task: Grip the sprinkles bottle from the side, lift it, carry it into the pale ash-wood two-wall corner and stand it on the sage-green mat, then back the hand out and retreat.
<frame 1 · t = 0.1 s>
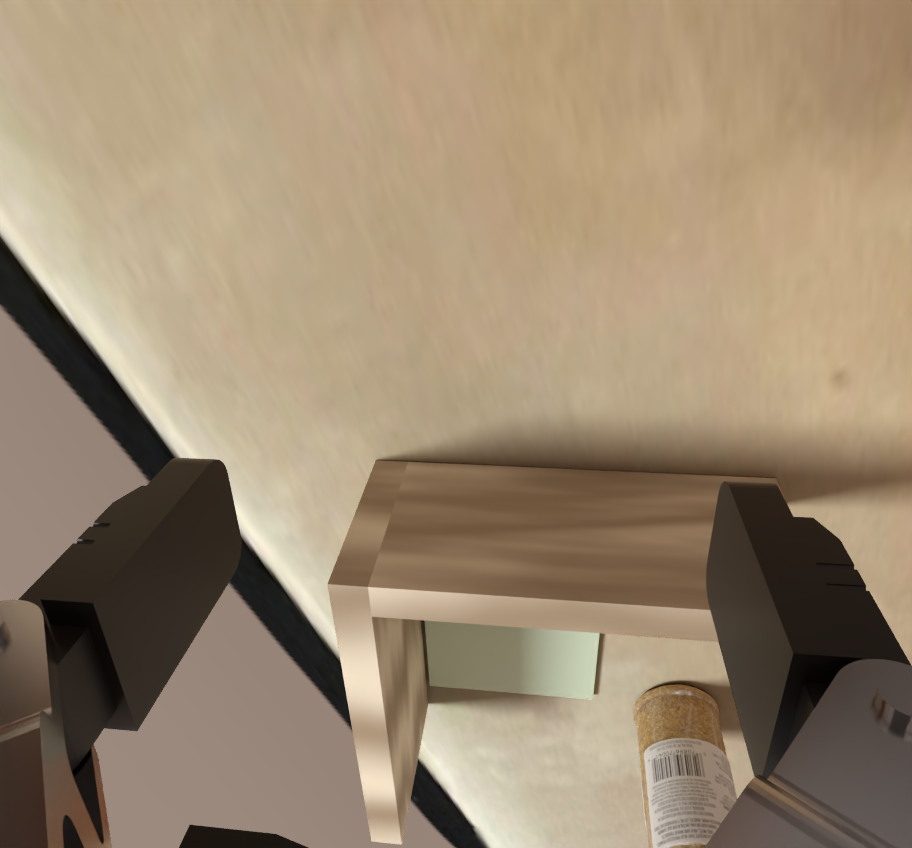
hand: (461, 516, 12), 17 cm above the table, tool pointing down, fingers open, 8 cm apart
light wood l-shaped panel: (393, 474, 33), on the table
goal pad: (510, 631, 38), on the table
sprinkles bottle: (675, 704, 39), on the table
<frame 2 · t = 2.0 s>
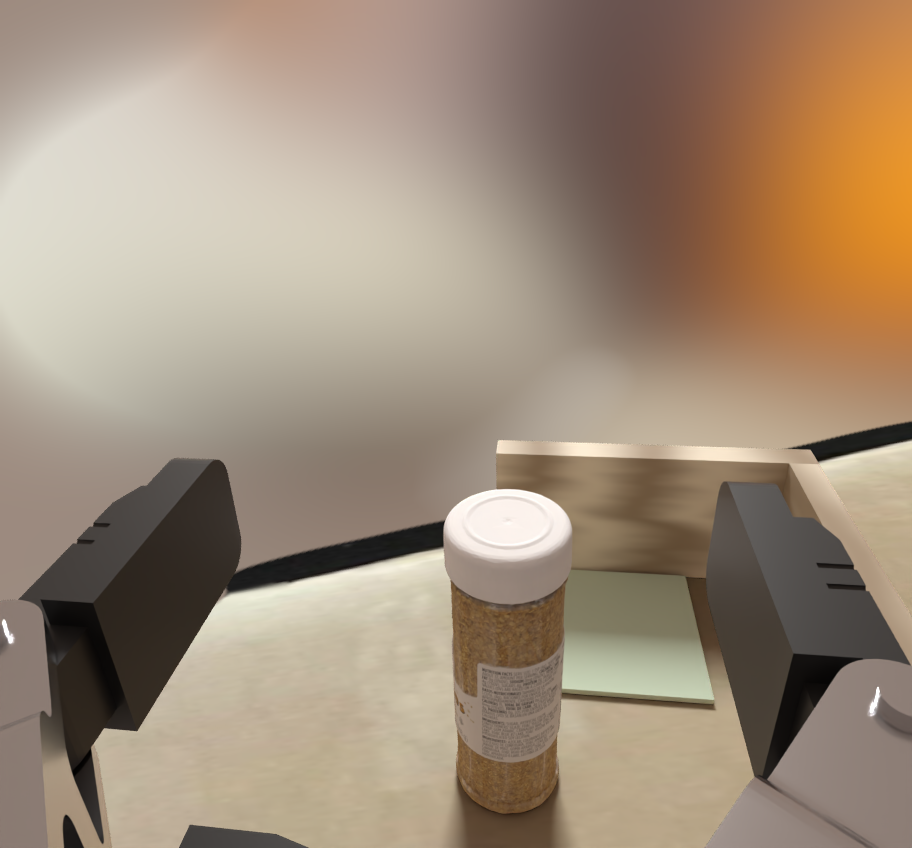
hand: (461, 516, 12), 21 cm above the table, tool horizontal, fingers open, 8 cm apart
light wood l-shaped panel: (774, 573, 42), on the table
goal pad: (611, 630, 39), on the table
sprinkles bottle: (507, 773, 32), on the table
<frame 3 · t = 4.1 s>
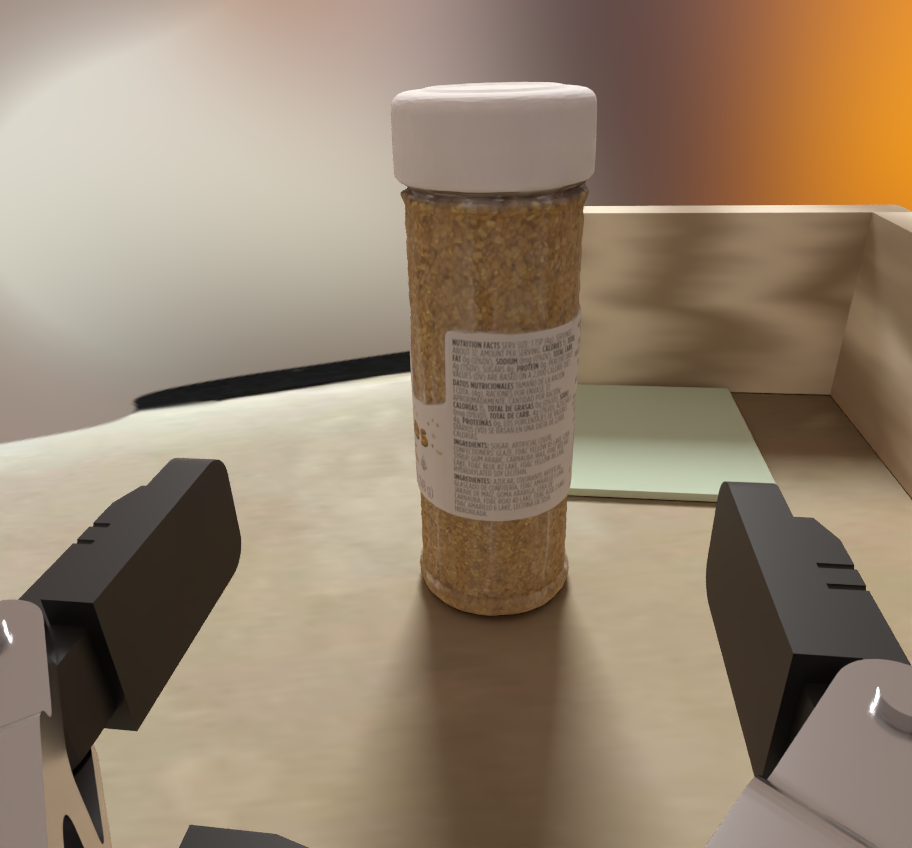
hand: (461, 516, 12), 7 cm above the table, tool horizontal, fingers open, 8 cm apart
light wood l-shaped panel: (841, 388, 33), on the table
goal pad: (634, 437, 29), on the table
sprinkles bottle: (494, 578, 22), on the table
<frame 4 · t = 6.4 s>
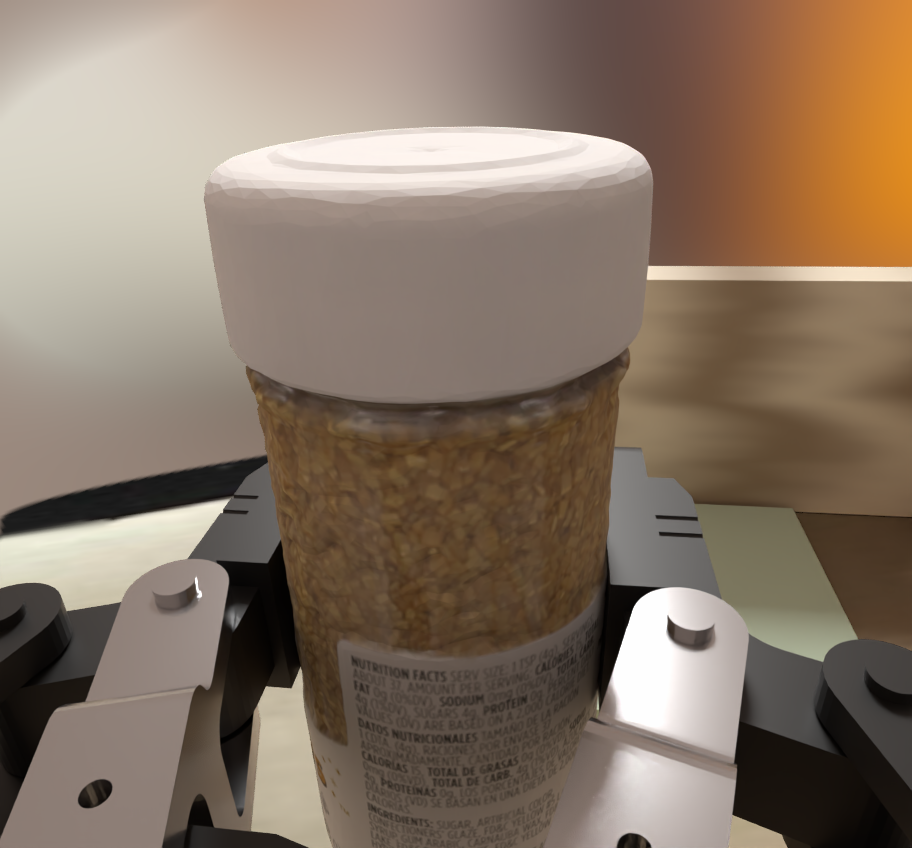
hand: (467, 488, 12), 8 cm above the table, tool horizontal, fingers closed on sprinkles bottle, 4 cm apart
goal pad: (671, 597, 21), on the table
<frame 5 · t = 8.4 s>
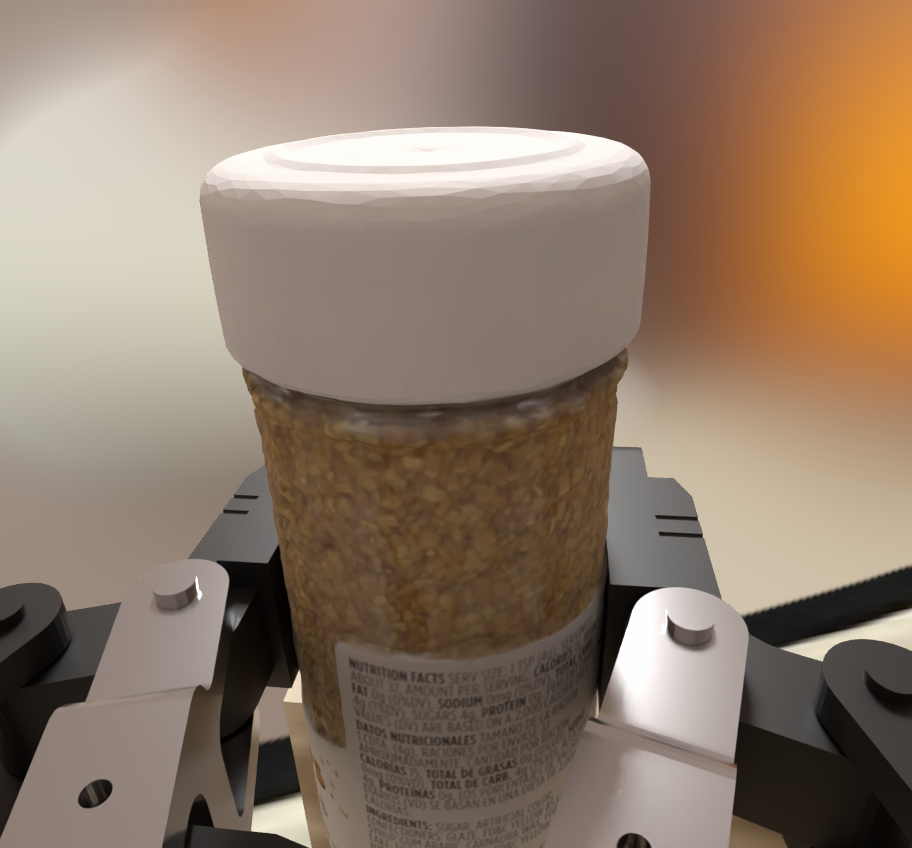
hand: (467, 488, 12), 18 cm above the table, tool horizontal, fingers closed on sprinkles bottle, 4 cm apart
when the fingers open (9 cm above the table, at t = 10.6 s): sprinkles bottle stays where it is, resting on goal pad.
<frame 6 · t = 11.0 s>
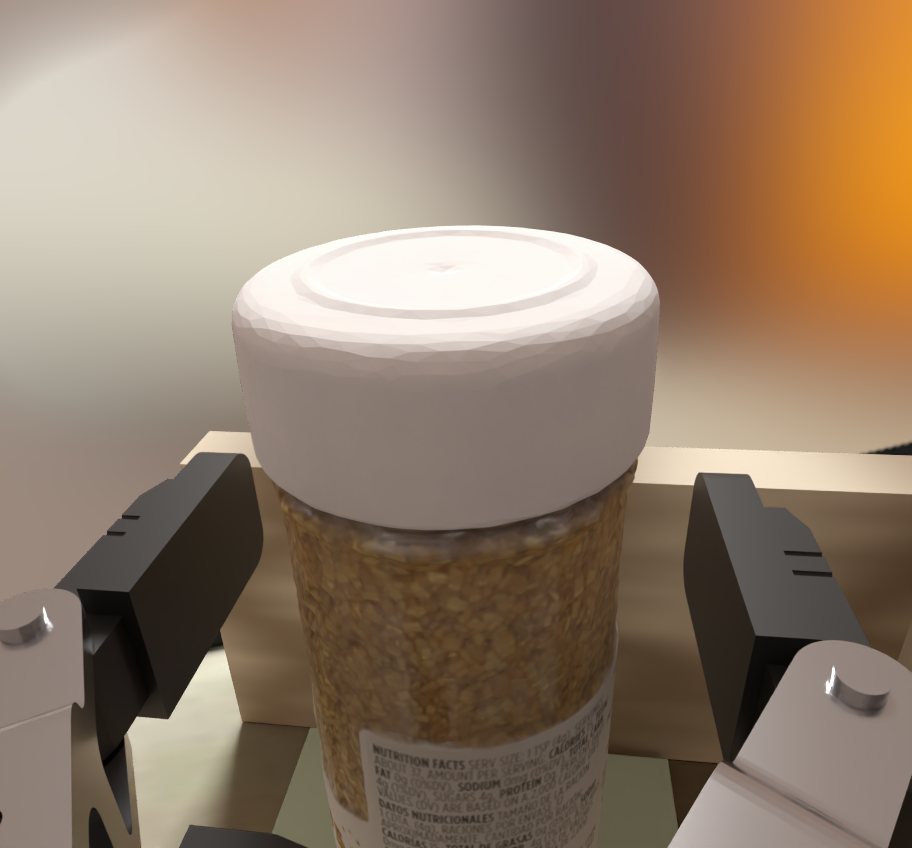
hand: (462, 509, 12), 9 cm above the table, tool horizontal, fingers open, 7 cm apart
light wood l-shaped panel: (878, 751, 18), on the table
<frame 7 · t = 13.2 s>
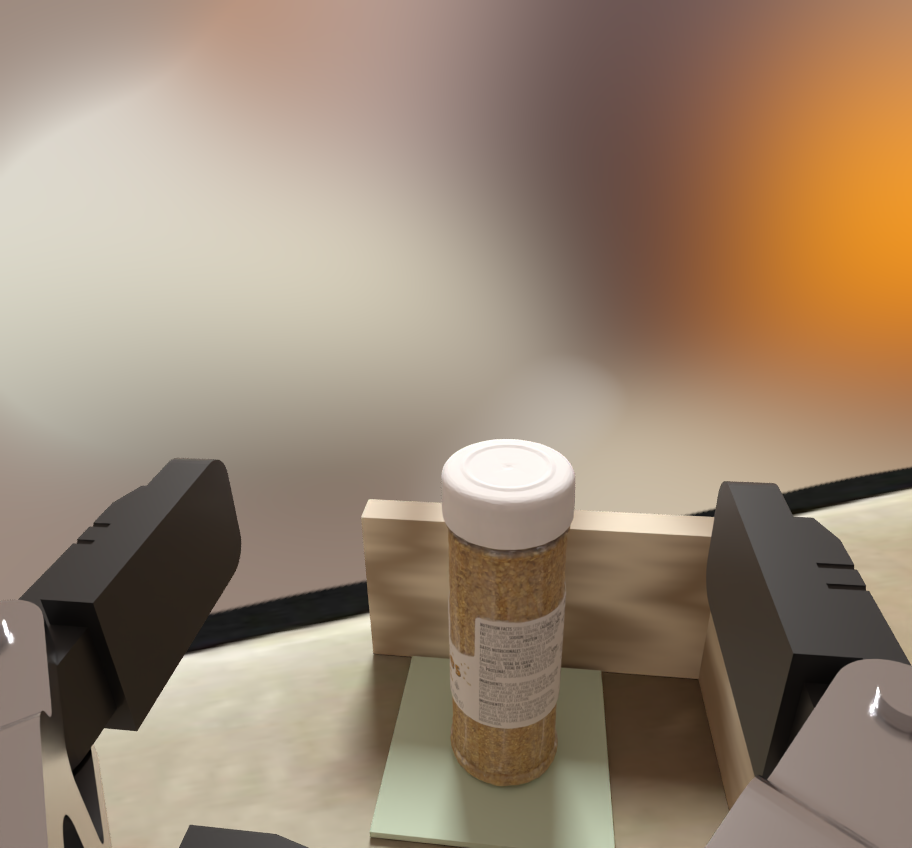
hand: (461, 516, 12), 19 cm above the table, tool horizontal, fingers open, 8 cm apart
light wood l-shaped panel: (711, 668, 34), on the table
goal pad: (498, 746, 30), on the table
sprinkles bottle: (504, 747, 30), resting on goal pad
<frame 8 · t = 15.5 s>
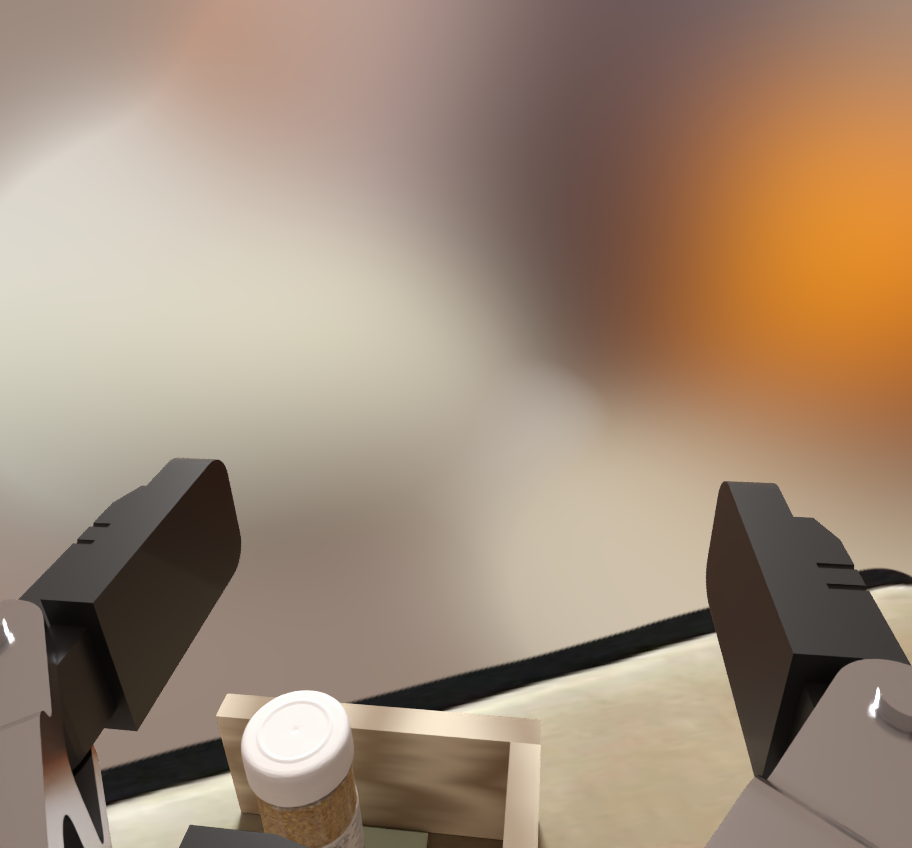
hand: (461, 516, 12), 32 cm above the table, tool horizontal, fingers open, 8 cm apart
light wood l-shaped panel: (523, 829, 40), on the table
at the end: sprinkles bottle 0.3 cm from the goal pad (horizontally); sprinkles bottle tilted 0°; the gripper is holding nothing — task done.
